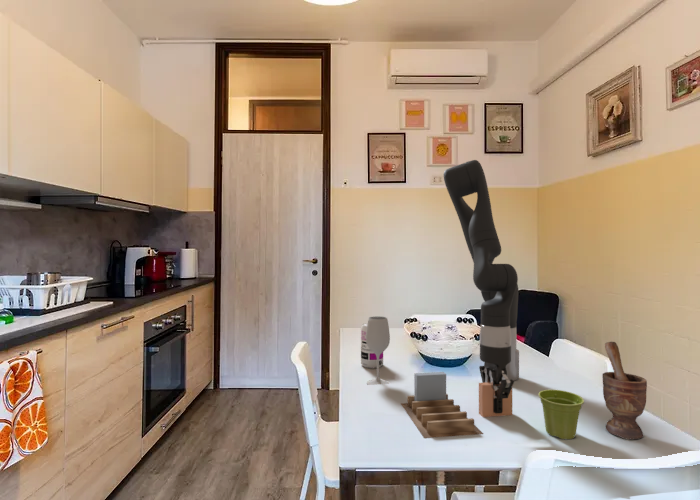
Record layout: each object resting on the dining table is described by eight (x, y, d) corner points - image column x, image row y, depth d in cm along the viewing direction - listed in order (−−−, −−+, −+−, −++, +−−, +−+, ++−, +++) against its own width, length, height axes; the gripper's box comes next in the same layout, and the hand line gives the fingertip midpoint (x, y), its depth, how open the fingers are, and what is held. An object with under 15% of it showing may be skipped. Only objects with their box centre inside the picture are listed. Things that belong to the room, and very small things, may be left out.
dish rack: (449, 405, 112) (449, 391, 111) (483, 439, 92) (483, 422, 92) (400, 407, 110) (400, 393, 110) (424, 443, 90) (424, 426, 90)
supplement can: (385, 363, 152) (385, 323, 152) (379, 369, 144) (379, 327, 144) (364, 361, 154) (364, 322, 154) (358, 367, 147) (358, 326, 147)
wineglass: (388, 388, 125) (388, 320, 125) (364, 386, 126) (364, 319, 126) (391, 380, 132) (391, 316, 132) (368, 379, 134) (367, 315, 133)
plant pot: (593, 442, 90) (593, 403, 90) (552, 444, 89) (552, 405, 89) (567, 424, 99) (567, 389, 99) (530, 425, 99) (530, 390, 99)
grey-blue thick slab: (443, 405, 108) (443, 371, 108) (446, 408, 106) (446, 374, 106) (414, 407, 107) (414, 373, 107) (416, 410, 105) (416, 375, 105)
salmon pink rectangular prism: (508, 416, 104) (508, 381, 104) (512, 419, 102) (512, 383, 102) (478, 418, 103) (478, 382, 103) (482, 421, 101) (482, 385, 101)
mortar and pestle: (584, 420, 101) (584, 341, 101) (613, 418, 103) (614, 339, 103) (623, 442, 90) (623, 352, 90) (656, 439, 92) (656, 351, 91)
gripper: (524, 348, 96) (524, 421, 96) (495, 336, 110) (495, 400, 110) (494, 349, 95) (494, 423, 95) (469, 337, 109) (469, 401, 109)
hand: (495, 410), depth 103 cm, fingers closed on salmon pink rectangular prism, 2 cm apart
